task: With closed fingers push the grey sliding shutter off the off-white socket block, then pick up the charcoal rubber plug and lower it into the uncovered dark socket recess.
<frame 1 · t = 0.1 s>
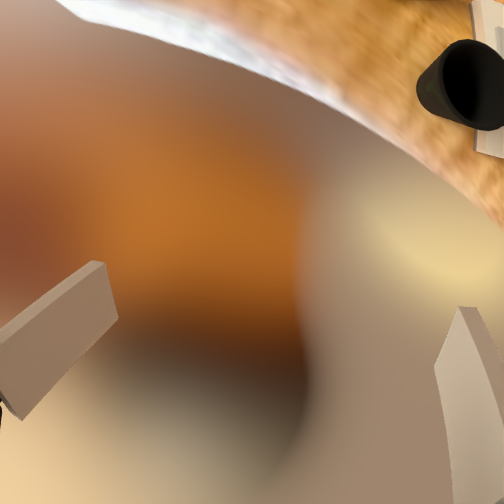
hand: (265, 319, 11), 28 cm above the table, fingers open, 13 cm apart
cup: (438, 92, 28), on the table
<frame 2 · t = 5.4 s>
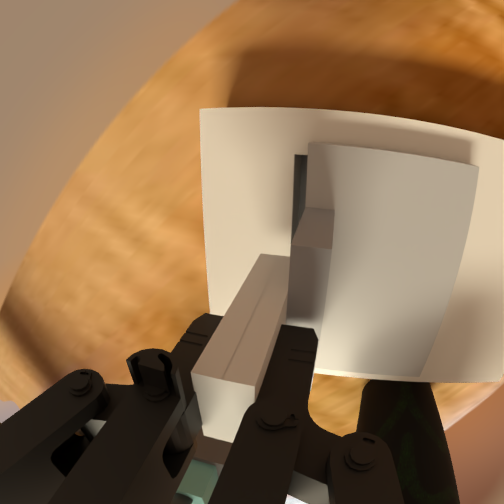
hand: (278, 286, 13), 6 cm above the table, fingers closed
plug: (225, 406, 26), on the table
shutter: (384, 301, 12), point 6 cm above the table, slide at 1.0 cm, touching gripper
socket board: (389, 245, 17), on the table
cup: (396, 391, 21), on the table
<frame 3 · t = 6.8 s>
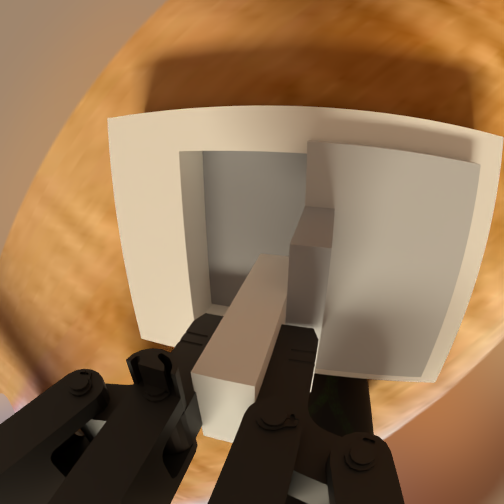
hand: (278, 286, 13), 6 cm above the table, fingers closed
shutter: (385, 301, 12), point 6 cm above the table, slide at 6.3 cm, touching gripper
socket board: (298, 234, 18), on the table
cup: (332, 386, 22), on the table
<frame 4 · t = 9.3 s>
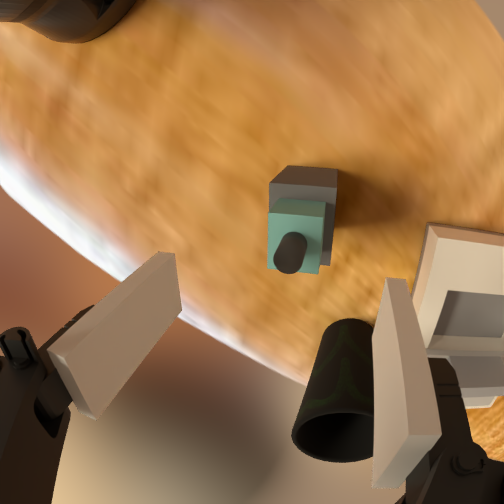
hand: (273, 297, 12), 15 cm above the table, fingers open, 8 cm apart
plug: (311, 197, 25), on the table
shutter: (464, 395, 22), point 6 cm above the table, slide at 6.3 cm
socket board: (466, 321, 26), on the table
cup: (349, 339, 30), on the table
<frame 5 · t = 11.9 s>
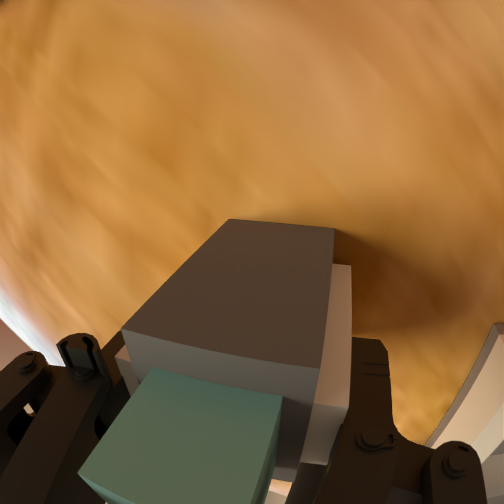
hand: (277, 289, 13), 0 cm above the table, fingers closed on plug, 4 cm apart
plug: (278, 282, 13), on the table, touching gripper
cup: (340, 462, 18), on the table
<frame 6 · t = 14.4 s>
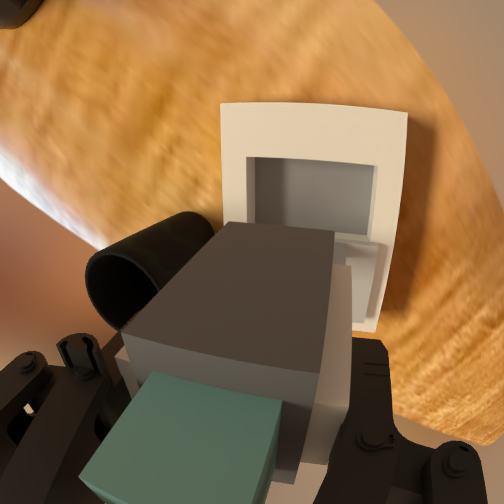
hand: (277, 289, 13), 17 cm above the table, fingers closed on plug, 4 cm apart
plug: (278, 284, 13), point 16 cm above the table, touching gripper
shutter: (301, 290, 24), point 6 cm above the table, slide at 6.3 cm
socket board: (312, 213, 28), on the table
cup: (191, 236, 32), on the table
when the fingers open (3 cm above the table, at t = 17.0 s): plug drops 2 cm, resting on socket board.
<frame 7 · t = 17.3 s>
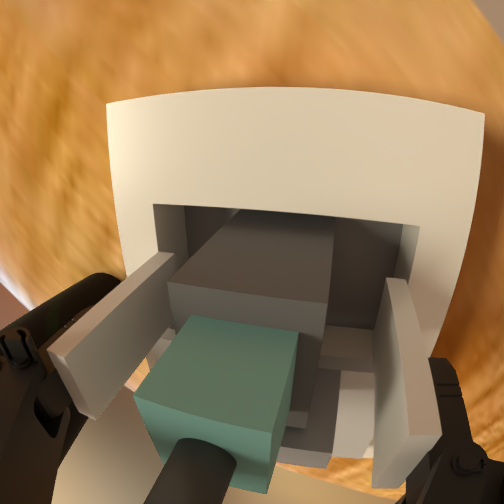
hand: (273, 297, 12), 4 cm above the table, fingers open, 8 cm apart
plug: (287, 261, 15), point 1 cm above the table, touching socket board
shutter: (258, 437, 13), point 6 cm above the table, slide at 6.3 cm
socket board: (288, 290, 16), on the table
cup: (114, 306, 21), on the table
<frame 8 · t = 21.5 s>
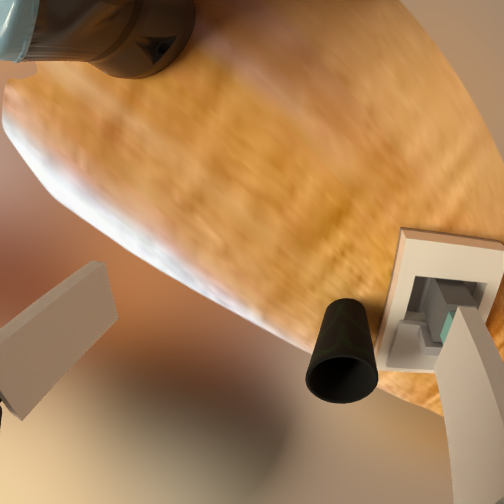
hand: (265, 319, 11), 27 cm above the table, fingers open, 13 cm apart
plug: (441, 291, 35), point 1 cm above the table, touching socket board
shutter: (435, 357, 33), point 6 cm above the table, slide at 6.3 cm
socket board: (435, 302, 36), on the table
cup: (345, 315, 41), on the table
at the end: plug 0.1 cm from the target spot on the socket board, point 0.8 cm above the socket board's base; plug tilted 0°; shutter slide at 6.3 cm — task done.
